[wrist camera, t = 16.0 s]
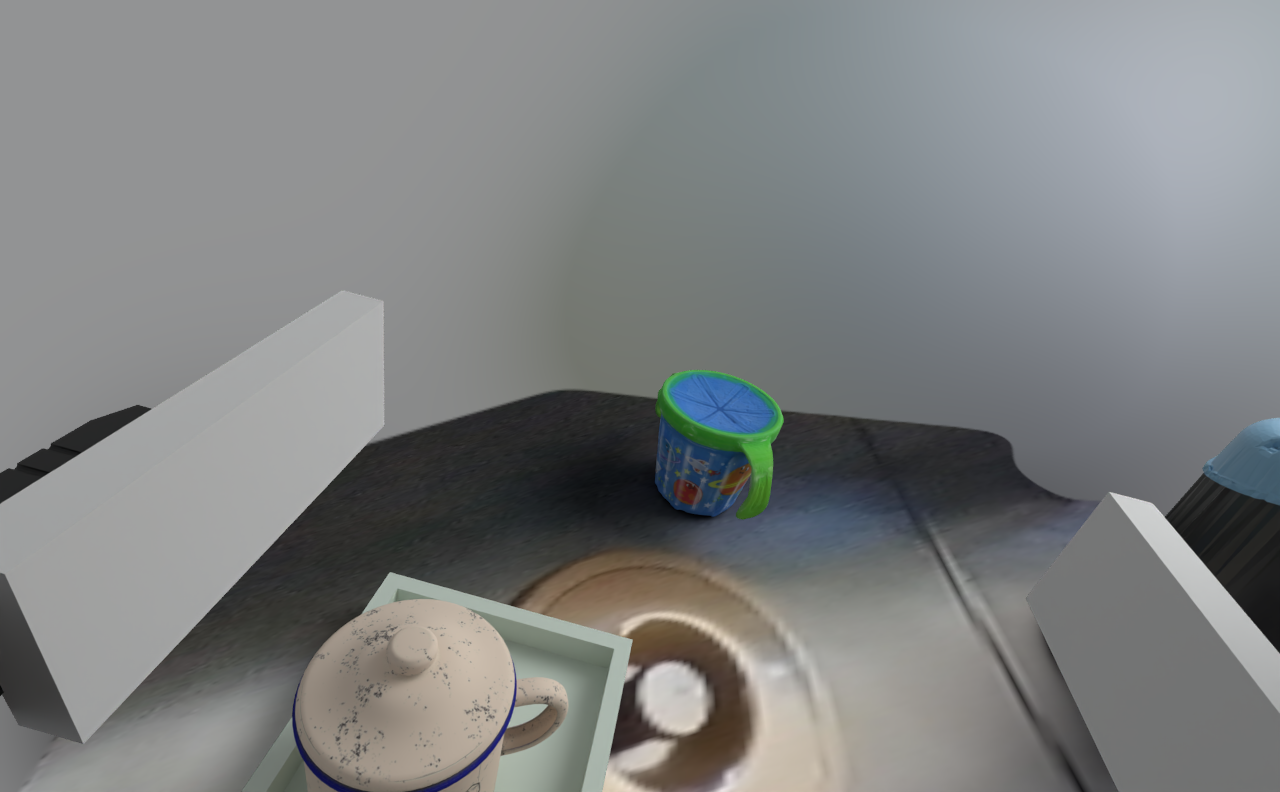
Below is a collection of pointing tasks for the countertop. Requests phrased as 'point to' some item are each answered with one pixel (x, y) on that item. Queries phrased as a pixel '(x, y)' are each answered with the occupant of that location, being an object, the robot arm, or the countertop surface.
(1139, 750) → the robot arm
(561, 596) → the countertop surface
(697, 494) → the snack cup
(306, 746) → the teacup with lid
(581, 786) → the sage tray
